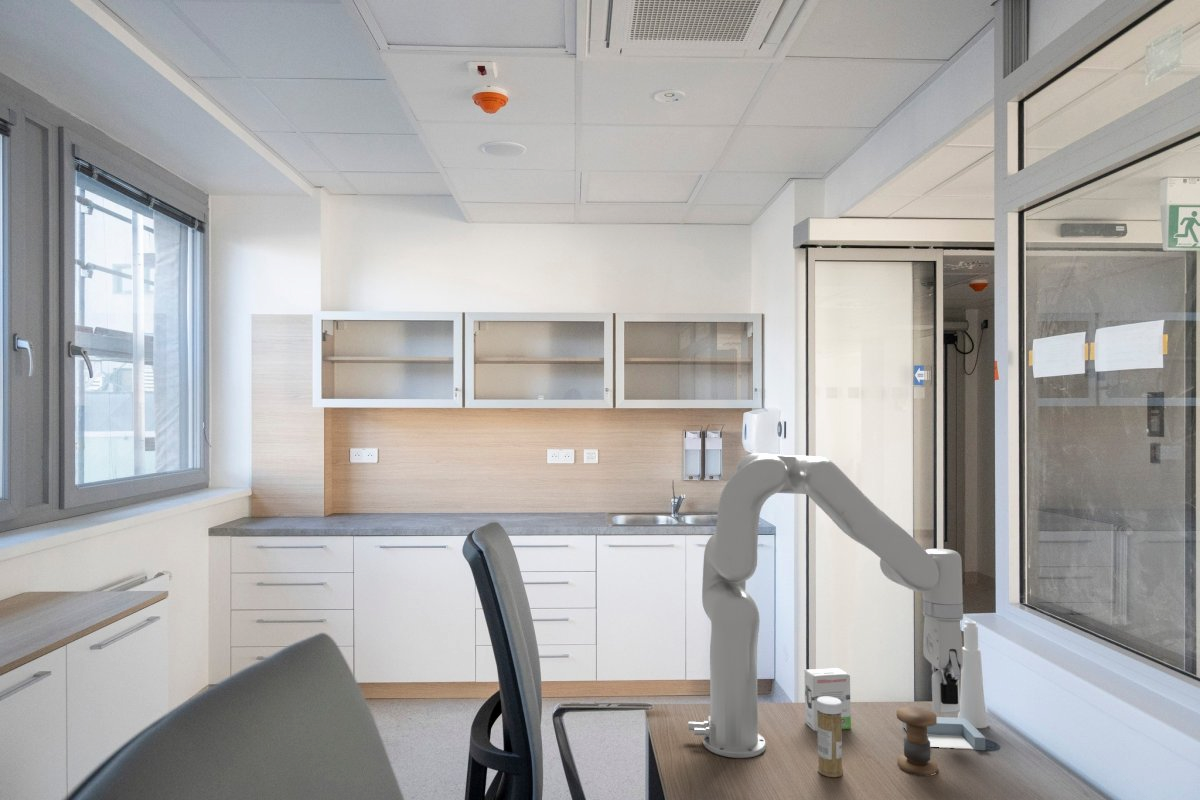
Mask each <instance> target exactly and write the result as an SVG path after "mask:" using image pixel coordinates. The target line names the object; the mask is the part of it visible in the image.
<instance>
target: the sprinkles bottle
mask: <svg viewBox="0 0 1200 800" xmlns="http://www.w3.org/2000/svg"><path fill="white" fill-rule="evenodd" d="M817 712H818V731H817V753H818V755H817V756H818V767H817V771H818V773H819V774H821V775H822V776H826V777H828V778H839V777H842V776H843V773H844V771H843V741H842V740H843V737H842V736H843V735H842V734H843V733H842V729H841V712H842V702H841V701H840V700H839V699H837V698H834V697H829V696H823V697H819V698H817Z"/></svg>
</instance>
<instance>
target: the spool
mask: <svg viewBox="0 0 1200 800" xmlns="http://www.w3.org/2000/svg"><path fill="white" fill-rule="evenodd" d="M937 717H938V716H937V715H936V713H935V712H934V711H931V710H928V709H926V708H922V707H916V706H903V707H899V708H897V709H896V718H897V719H898V720H899V721H900V722H902V723H903V722H904V723H906V730H907V732H906V735H905V736H904V737H903V753H902V754H900V755H898V756H897V759H896V760H897V767H898V768H899V767H900V768H899V769H900V770H902V769H903V770H902V771H903V772H905V771H906V772H905V773H908V772H909V773H908V774H911V773H912V774H911V775H914V774H916V775H915V776H920V775H931V774H934V773H936V772H937V770H938V771H939V769H938V762H937V761H936V760H934V759H933V758H931V748H930V741H929V740H928V739H927V726H933V725H935V724H936V723H937ZM937 773H938V772H937ZM937 773H936V774H937ZM934 775H935V774H934ZM931 776H932V775H931Z"/></svg>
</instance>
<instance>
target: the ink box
mask: <svg viewBox="0 0 1200 800" xmlns="http://www.w3.org/2000/svg"><path fill="white" fill-rule="evenodd" d="M803 674H804V719H805V720H804V722H805V724H806V725H807V726H809V727H810V728H811V730H813V732H818V712H817V698H819V697H823V696H829V697H834V698H837V699H839V700H840V701H841V702H842V712H841V730H848V729H849V730H850V729H851V728H852V727H851V726H852V723H851V719H852V718H851V715H852V713H851V674H850V673H848V672H846V671H845V670H844V669H842V668H840V667H832V668H831V667H829V668H828V667H827V668H815V669H814V668H812V669H810V668H809V669H804V673H803Z"/></svg>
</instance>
